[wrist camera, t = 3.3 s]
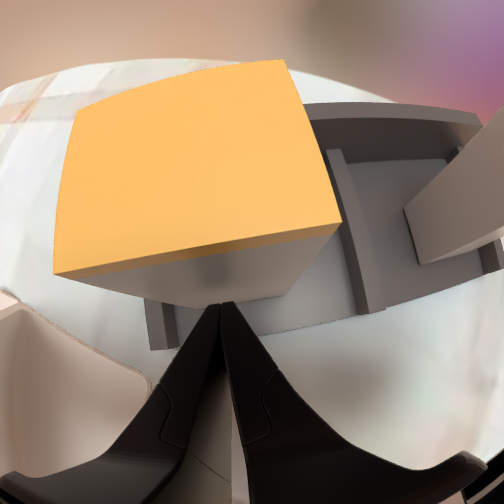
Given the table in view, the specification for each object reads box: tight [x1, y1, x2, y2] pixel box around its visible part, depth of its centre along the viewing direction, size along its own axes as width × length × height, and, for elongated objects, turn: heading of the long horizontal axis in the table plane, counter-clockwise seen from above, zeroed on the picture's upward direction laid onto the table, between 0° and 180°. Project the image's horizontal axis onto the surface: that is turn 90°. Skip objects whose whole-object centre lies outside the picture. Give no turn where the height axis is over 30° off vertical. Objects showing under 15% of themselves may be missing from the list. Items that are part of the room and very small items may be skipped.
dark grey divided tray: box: [144, 102, 504, 351], centre depth 14 cm, size 11×24×7 cm, turn 99°
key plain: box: [403, 104, 504, 265], centre depth 10 cm, size 4×5×12 cm
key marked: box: [53, 59, 342, 309], centre depth 10 cm, size 4×5×12 cm
